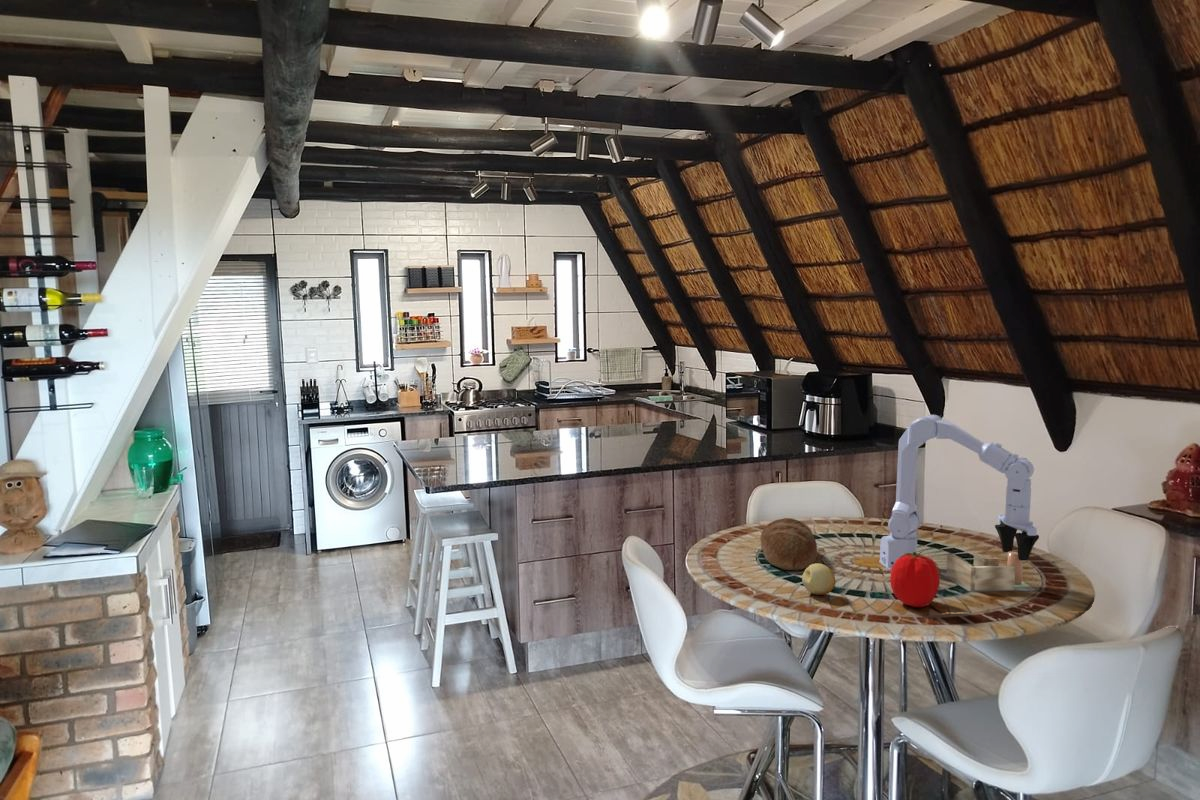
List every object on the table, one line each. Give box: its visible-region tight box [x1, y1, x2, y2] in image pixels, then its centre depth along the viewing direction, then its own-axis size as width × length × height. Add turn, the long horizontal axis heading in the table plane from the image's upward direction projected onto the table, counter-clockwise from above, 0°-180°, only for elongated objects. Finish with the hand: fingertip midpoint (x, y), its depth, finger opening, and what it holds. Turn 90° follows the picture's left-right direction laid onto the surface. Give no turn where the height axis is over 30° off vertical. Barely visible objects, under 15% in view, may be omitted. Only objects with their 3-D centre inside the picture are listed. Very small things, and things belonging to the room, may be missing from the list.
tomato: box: [889, 550, 941, 608], centre depth 201 cm, size 12×12×13 cm
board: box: [939, 572, 1037, 593], centre depth 219 cm, size 18×16×1 cm
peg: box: [1006, 550, 1024, 585], centre depth 216 cm, size 4×4×8 cm
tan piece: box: [945, 553, 1015, 591], centre depth 218 cm, size 12×13×6 cm
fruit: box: [801, 562, 836, 596], centre depth 209 cm, size 8×8×8 cm
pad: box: [1014, 581, 1030, 587], centre depth 217 cm, size 5×5×1 cm
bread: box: [760, 517, 818, 571], centre depth 243 cm, size 16×29×11 cm, turn 173°
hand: (1015, 555), depth 216 cm, fingers open, 7 cm apart
